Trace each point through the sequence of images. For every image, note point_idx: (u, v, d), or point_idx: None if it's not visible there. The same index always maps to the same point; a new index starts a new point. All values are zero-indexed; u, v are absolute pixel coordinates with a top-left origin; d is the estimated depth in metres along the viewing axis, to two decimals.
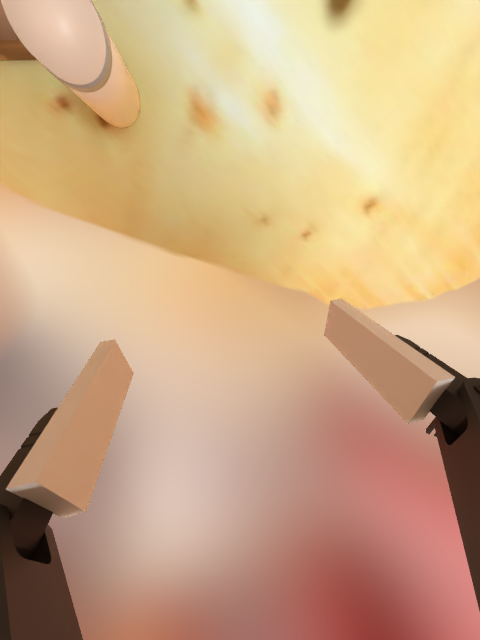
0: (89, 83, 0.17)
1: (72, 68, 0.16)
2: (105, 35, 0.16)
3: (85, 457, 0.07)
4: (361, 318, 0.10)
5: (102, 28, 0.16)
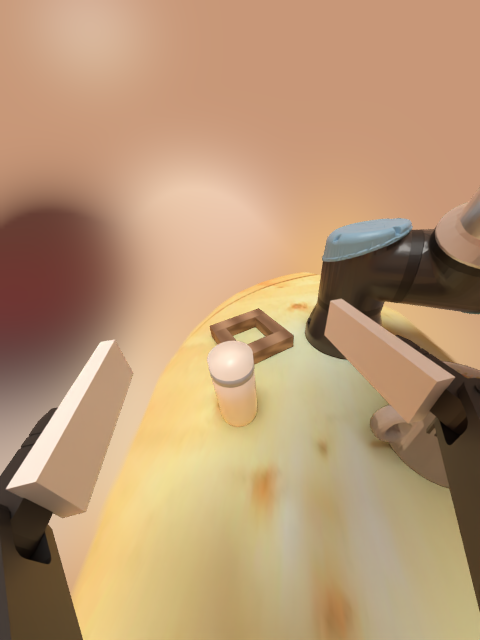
0: (213, 375, 0.25)
1: (211, 364, 0.25)
2: (240, 380, 0.24)
3: (85, 457, 0.07)
4: (361, 318, 0.10)
5: (241, 377, 0.24)
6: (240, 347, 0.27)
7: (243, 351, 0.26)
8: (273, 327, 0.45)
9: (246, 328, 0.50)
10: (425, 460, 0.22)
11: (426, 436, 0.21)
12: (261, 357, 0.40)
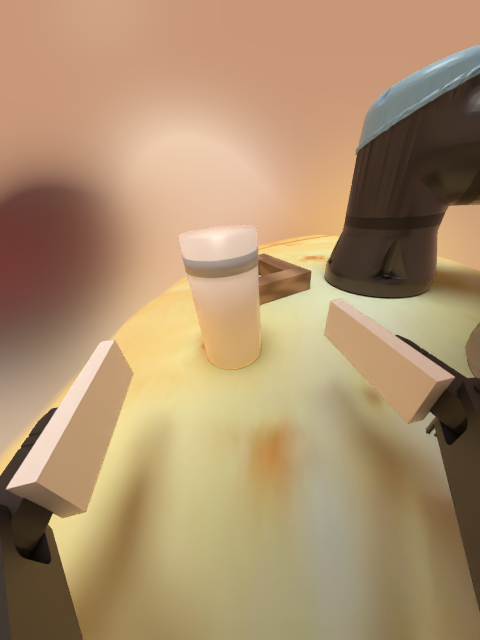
0: (187, 259, 0.14)
1: (184, 237, 0.14)
2: (233, 261, 0.14)
3: (85, 457, 0.07)
4: (361, 318, 0.10)
5: (235, 256, 0.14)
6: (236, 226, 0.16)
7: (240, 228, 0.16)
8: (283, 266, 0.34)
9: None
10: None
11: None
12: (267, 296, 0.30)
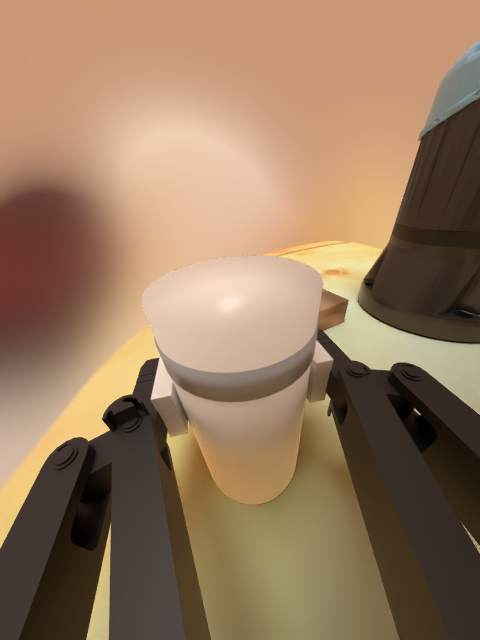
0: (162, 351, 0.06)
1: (154, 302, 0.06)
2: (275, 370, 0.05)
3: None
4: None
5: (281, 358, 0.05)
6: (266, 264, 0.08)
7: (278, 270, 0.07)
8: None
9: None
10: None
11: None
12: None
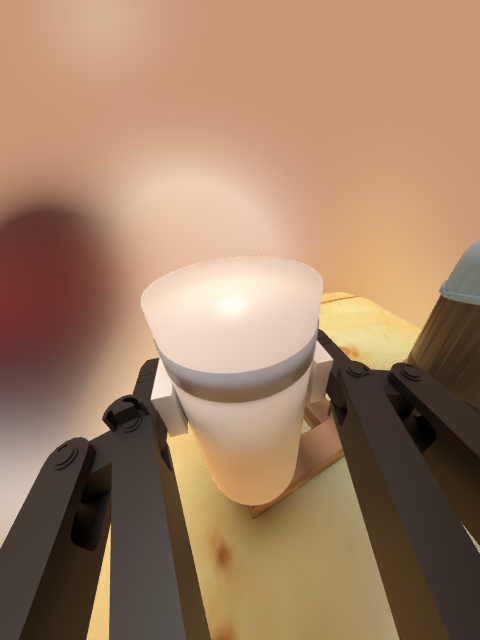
0: (161, 352, 0.06)
1: (153, 302, 0.06)
2: (275, 371, 0.05)
3: None
4: None
5: (281, 359, 0.05)
6: (266, 264, 0.08)
7: (278, 270, 0.07)
8: (318, 407, 0.25)
9: None
10: None
11: None
12: (302, 481, 0.21)
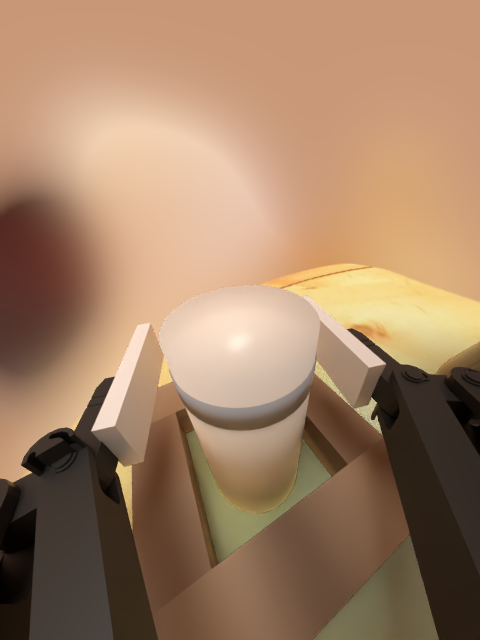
0: (176, 384, 0.07)
1: (170, 342, 0.07)
2: (278, 404, 0.06)
3: (140, 417, 0.08)
4: (320, 313, 0.11)
5: (283, 394, 0.06)
6: (269, 297, 0.09)
7: (280, 306, 0.08)
8: (337, 426, 0.13)
9: None
10: None
11: None
12: None
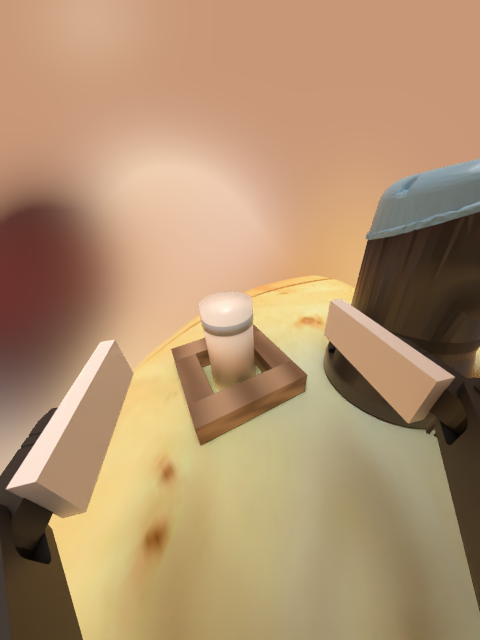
0: (204, 322, 0.21)
1: (203, 308, 0.21)
2: (236, 327, 0.21)
3: (85, 457, 0.07)
4: (361, 318, 0.10)
5: (237, 323, 0.21)
6: (237, 296, 0.23)
7: (240, 298, 0.23)
8: (272, 357, 0.27)
9: None
10: None
11: None
12: (249, 415, 0.22)
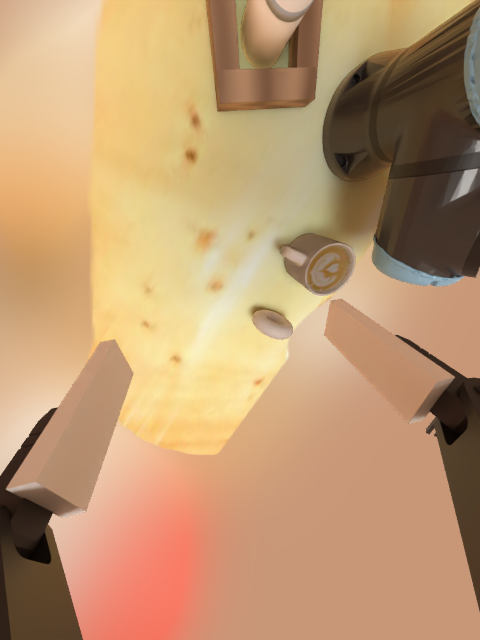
0: None
1: None
2: (290, 14, 0.20)
3: (85, 457, 0.07)
4: (361, 318, 0.10)
5: (293, 11, 0.19)
6: None
7: None
8: (306, 47, 0.26)
9: None
10: (289, 268, 0.42)
11: (296, 268, 0.39)
12: (257, 107, 0.30)
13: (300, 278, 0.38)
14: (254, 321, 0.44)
